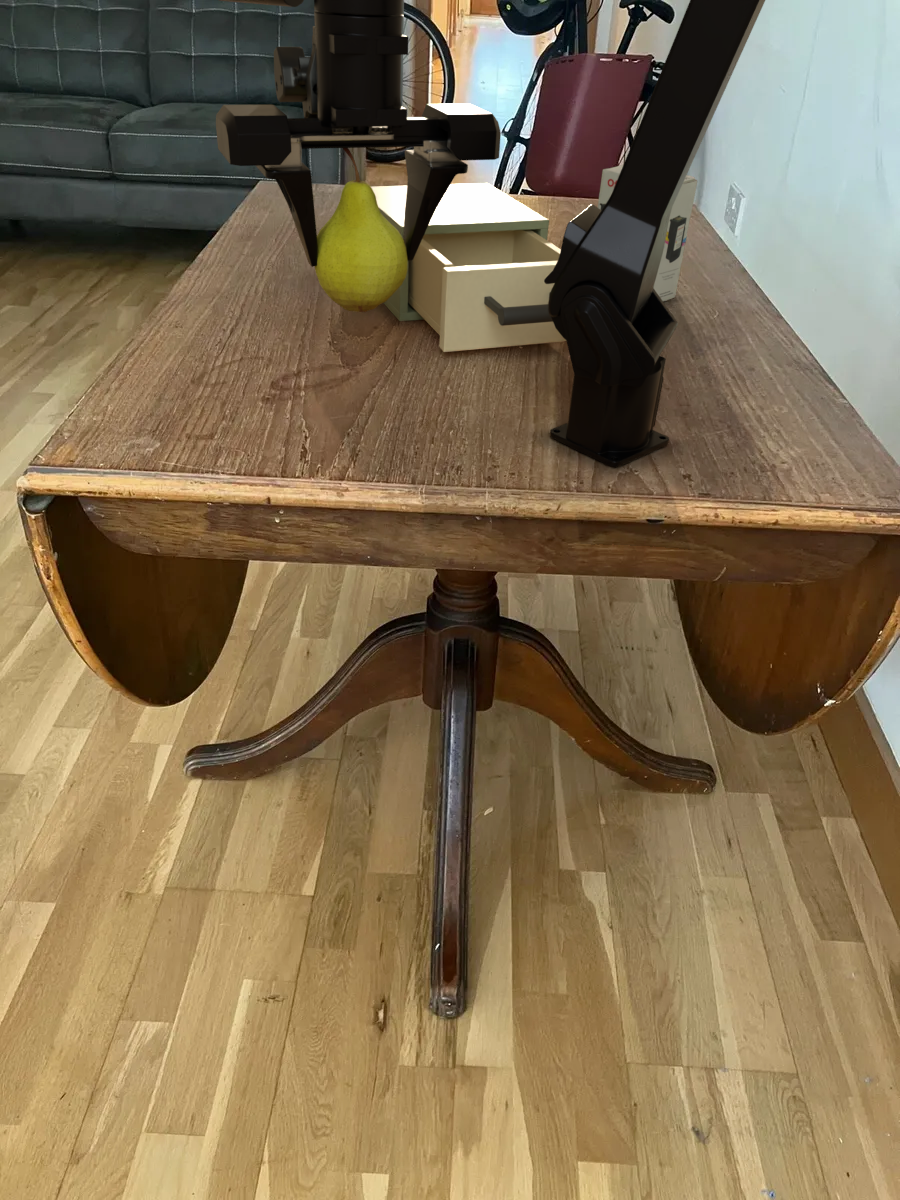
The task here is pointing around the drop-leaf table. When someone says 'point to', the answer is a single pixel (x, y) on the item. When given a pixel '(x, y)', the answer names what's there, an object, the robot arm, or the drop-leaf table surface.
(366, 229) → the fruit
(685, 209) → the ink box
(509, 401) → the drop-leaf table surface
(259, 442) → the drop-leaf table surface
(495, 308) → the drawer
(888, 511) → the drop-leaf table surface
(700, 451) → the drop-leaf table surface
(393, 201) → the cabinet
